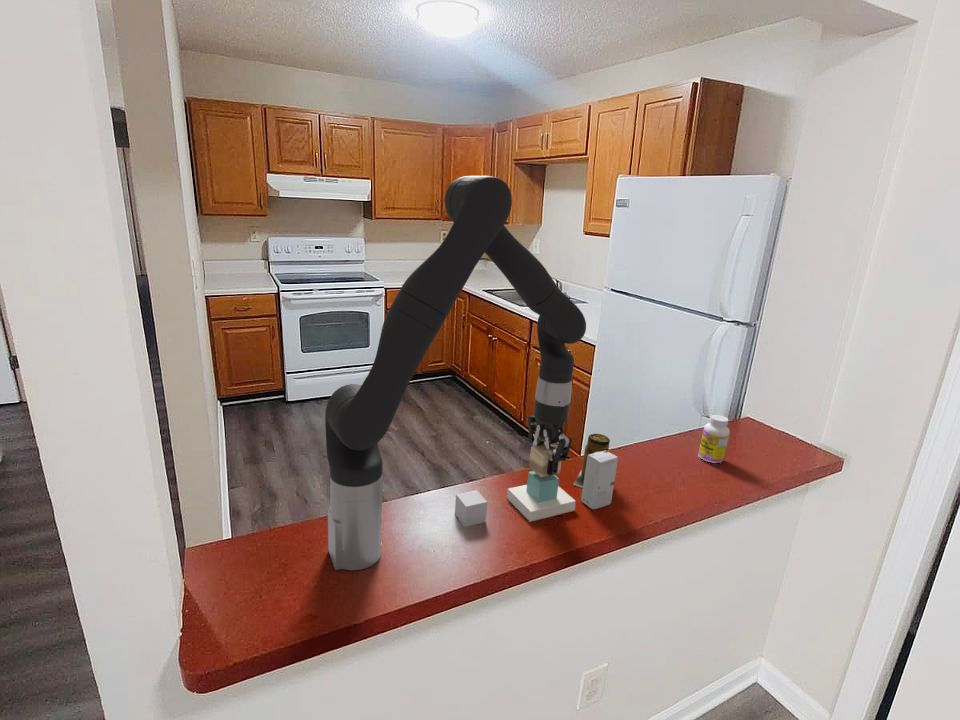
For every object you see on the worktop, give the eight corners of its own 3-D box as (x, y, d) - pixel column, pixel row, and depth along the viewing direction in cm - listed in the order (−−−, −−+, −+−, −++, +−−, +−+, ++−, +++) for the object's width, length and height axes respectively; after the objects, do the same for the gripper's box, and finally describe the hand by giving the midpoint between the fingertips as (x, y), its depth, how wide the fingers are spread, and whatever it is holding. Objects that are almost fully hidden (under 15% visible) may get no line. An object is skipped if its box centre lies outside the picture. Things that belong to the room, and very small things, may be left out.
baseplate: (529, 521, 114) (530, 511, 113) (506, 498, 122) (507, 488, 122) (574, 510, 120) (575, 500, 119) (549, 488, 128) (550, 479, 127)
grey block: (464, 527, 111) (466, 506, 109) (454, 514, 115) (456, 494, 113) (485, 522, 113) (487, 501, 111) (475, 509, 117) (476, 490, 116)
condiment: (608, 478, 135) (615, 435, 131) (602, 493, 127) (609, 449, 124) (580, 471, 138) (586, 429, 134) (572, 485, 130) (579, 441, 127)
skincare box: (593, 510, 120) (600, 463, 116) (579, 501, 124) (586, 454, 120) (612, 503, 123) (619, 457, 120) (598, 494, 127) (605, 449, 123)
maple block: (541, 477, 115) (543, 456, 114) (529, 466, 119) (531, 446, 118) (559, 473, 117) (562, 453, 116) (547, 463, 122) (549, 443, 120)
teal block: (538, 502, 117) (540, 482, 116) (526, 491, 121) (528, 471, 120) (556, 498, 119) (559, 478, 118) (544, 487, 123) (546, 468, 122)
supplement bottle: (692, 454, 151) (701, 413, 148) (711, 453, 153) (720, 412, 150) (708, 466, 145) (718, 423, 142) (728, 464, 147) (737, 422, 144)
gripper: (520, 388, 118) (513, 456, 123) (557, 412, 106) (548, 487, 111) (548, 385, 121) (540, 451, 126) (587, 408, 109) (577, 481, 114)
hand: (544, 468), depth 118 cm, fingers closed on maple block, 5 cm apart
